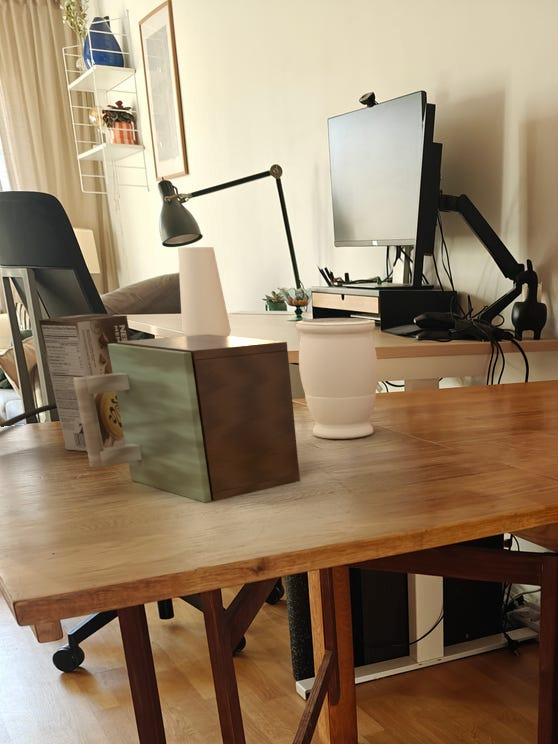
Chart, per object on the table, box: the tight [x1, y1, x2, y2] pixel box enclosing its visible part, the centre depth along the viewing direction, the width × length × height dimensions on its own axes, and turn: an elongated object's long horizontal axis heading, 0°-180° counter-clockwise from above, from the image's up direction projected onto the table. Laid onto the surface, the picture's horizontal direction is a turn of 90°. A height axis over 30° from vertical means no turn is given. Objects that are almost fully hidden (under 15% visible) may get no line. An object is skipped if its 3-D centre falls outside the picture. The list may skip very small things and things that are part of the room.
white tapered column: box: [177, 246, 232, 336], centre depth 125 cm, size 7×7×24 cm
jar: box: [295, 317, 379, 440], centre depth 118 cm, size 11×10×15 cm
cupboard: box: [117, 334, 301, 502], centre depth 93 cm, size 11×15×15 cm
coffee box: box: [38, 313, 132, 452], centre depth 112 cm, size 9×6×16 cm
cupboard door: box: [73, 344, 212, 503], centre depth 87 cm, size 6×15×14 cm, turn 49°
